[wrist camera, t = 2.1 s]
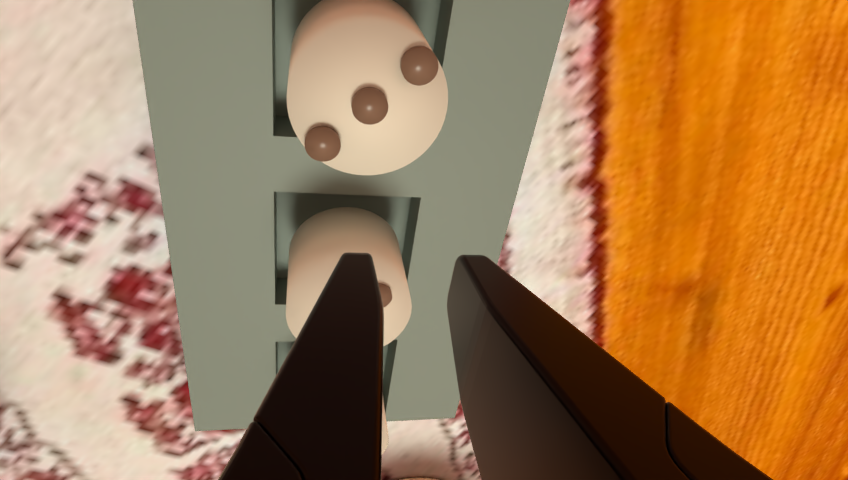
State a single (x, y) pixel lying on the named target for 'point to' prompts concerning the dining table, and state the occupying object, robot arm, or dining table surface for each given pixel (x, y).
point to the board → (326, 183)
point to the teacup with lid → (419, 479)
